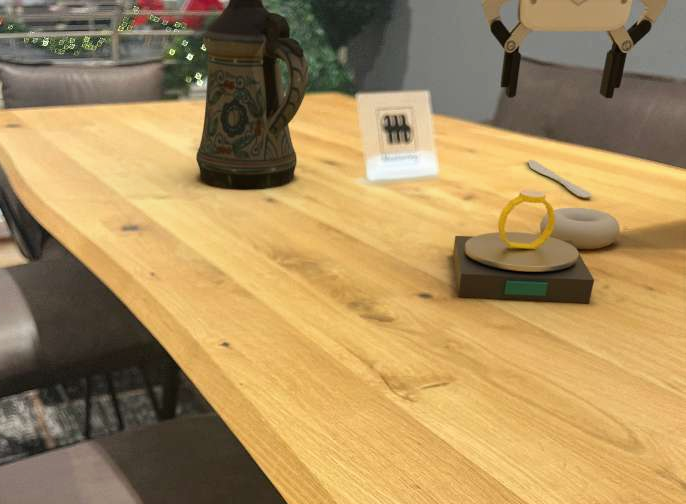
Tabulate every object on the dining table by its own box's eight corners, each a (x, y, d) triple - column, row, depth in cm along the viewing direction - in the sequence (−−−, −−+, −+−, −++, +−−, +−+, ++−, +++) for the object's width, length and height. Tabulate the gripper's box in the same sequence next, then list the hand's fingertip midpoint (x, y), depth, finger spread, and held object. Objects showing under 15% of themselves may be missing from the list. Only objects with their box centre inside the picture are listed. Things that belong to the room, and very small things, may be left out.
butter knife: (576, 195, 117) (595, 194, 118) (521, 160, 140) (537, 159, 140) (575, 199, 118) (594, 198, 118) (520, 163, 140) (536, 162, 140)
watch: (499, 252, 85) (507, 196, 82) (492, 244, 87) (500, 190, 84) (551, 251, 86) (562, 196, 82) (543, 244, 88) (553, 189, 84)
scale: (567, 261, 94) (572, 237, 92) (589, 304, 82) (595, 278, 80) (452, 256, 95) (455, 232, 93) (458, 298, 83) (461, 272, 81)
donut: (533, 248, 98) (615, 256, 95) (537, 221, 96) (621, 228, 93) (542, 227, 106) (618, 234, 103) (546, 202, 104) (623, 207, 101)
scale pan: (567, 239, 91) (568, 234, 91) (587, 274, 81) (588, 269, 81) (461, 234, 92) (462, 229, 92) (467, 269, 82) (468, 263, 82)
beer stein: (215, 164, 135) (205, -4, 121) (322, 170, 132) (325, -2, 118) (183, 186, 122) (168, 0, 108) (302, 194, 119) (302, 3, 105)
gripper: (498, -119, 66) (475, 101, 76) (705, -123, 65) (653, 102, 75) (490, -113, 72) (470, 90, 82) (679, -116, 71) (635, 91, 81)
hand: (557, 96), depth 78 cm, fingers open, 9 cm apart
